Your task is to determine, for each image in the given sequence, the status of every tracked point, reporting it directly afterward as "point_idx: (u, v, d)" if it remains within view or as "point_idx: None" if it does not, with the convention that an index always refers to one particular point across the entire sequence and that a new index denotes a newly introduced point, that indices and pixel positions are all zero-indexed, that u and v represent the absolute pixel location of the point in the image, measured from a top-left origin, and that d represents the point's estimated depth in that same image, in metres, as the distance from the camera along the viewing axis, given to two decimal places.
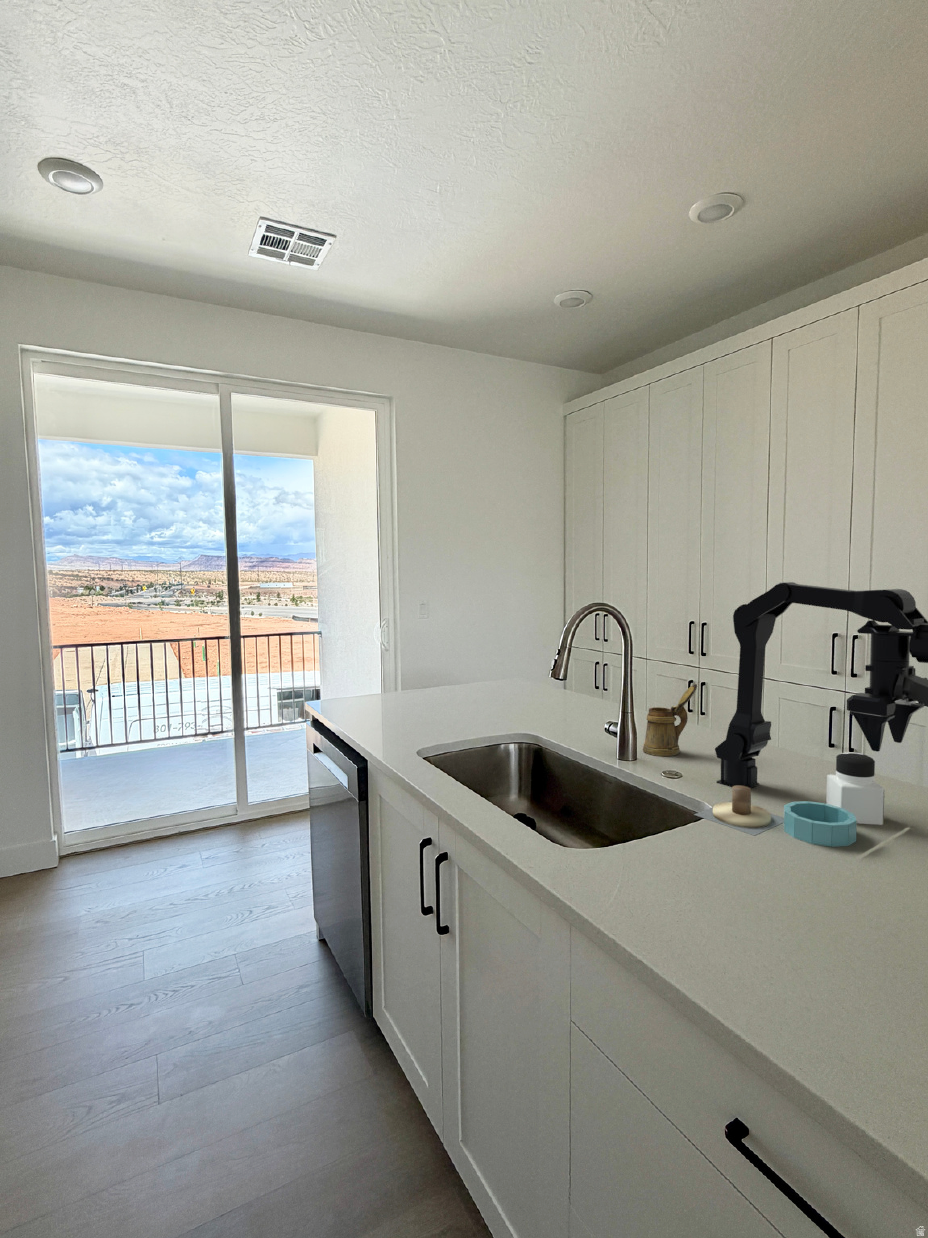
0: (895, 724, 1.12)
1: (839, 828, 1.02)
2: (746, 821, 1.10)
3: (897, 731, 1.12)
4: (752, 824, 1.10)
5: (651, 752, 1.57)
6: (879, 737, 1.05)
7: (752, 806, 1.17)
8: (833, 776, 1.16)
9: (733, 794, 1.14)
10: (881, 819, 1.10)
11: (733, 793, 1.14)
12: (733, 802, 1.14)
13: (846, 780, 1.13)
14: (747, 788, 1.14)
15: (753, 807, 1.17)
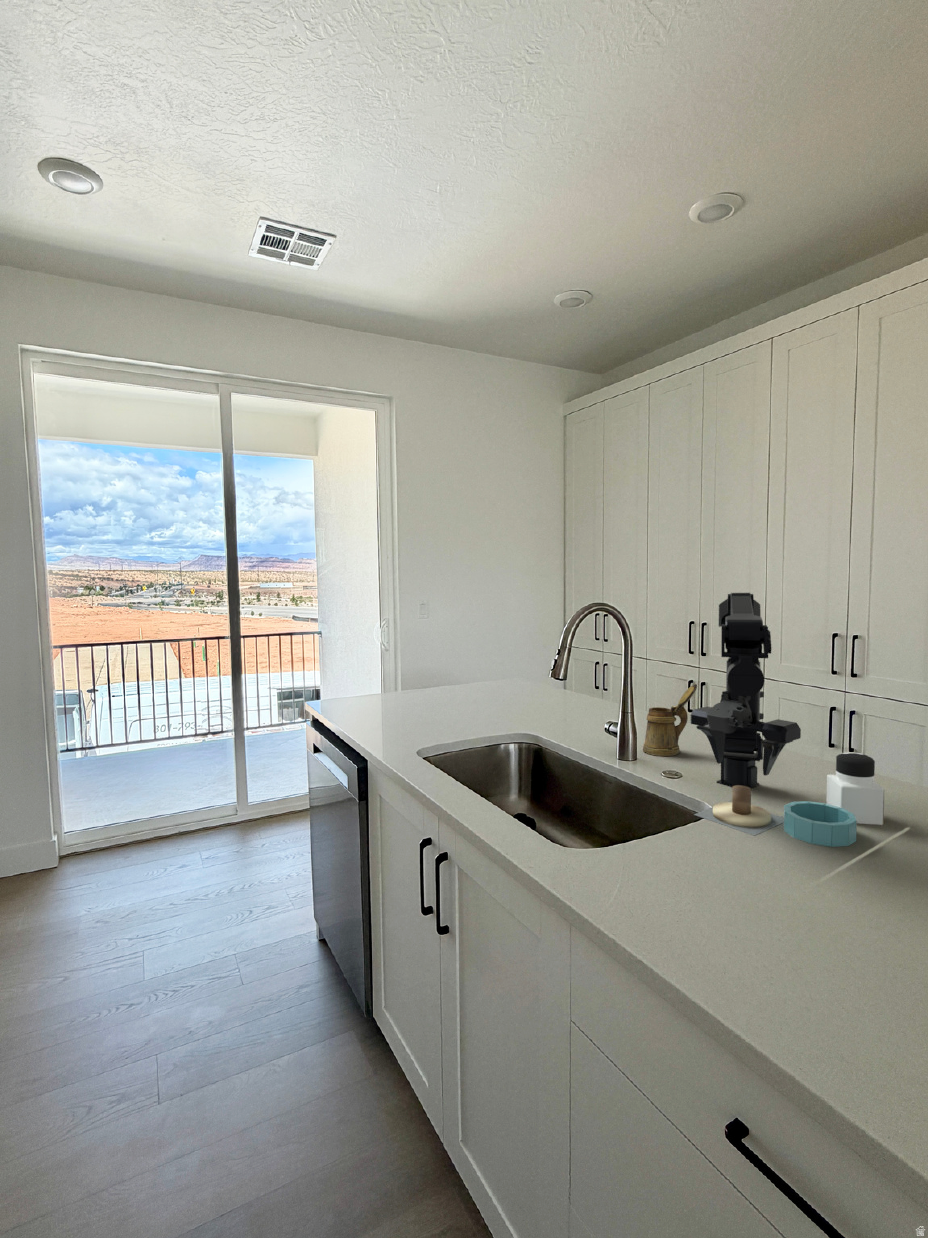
0: None
1: (839, 828, 1.02)
2: (746, 821, 1.10)
3: None
4: (752, 824, 1.10)
5: (651, 752, 1.57)
6: (713, 749, 1.18)
7: (752, 806, 1.17)
8: (833, 776, 1.16)
9: (733, 794, 1.14)
10: (881, 819, 1.10)
11: (733, 793, 1.14)
12: (733, 802, 1.14)
13: (846, 780, 1.13)
14: (747, 788, 1.14)
15: (753, 807, 1.17)
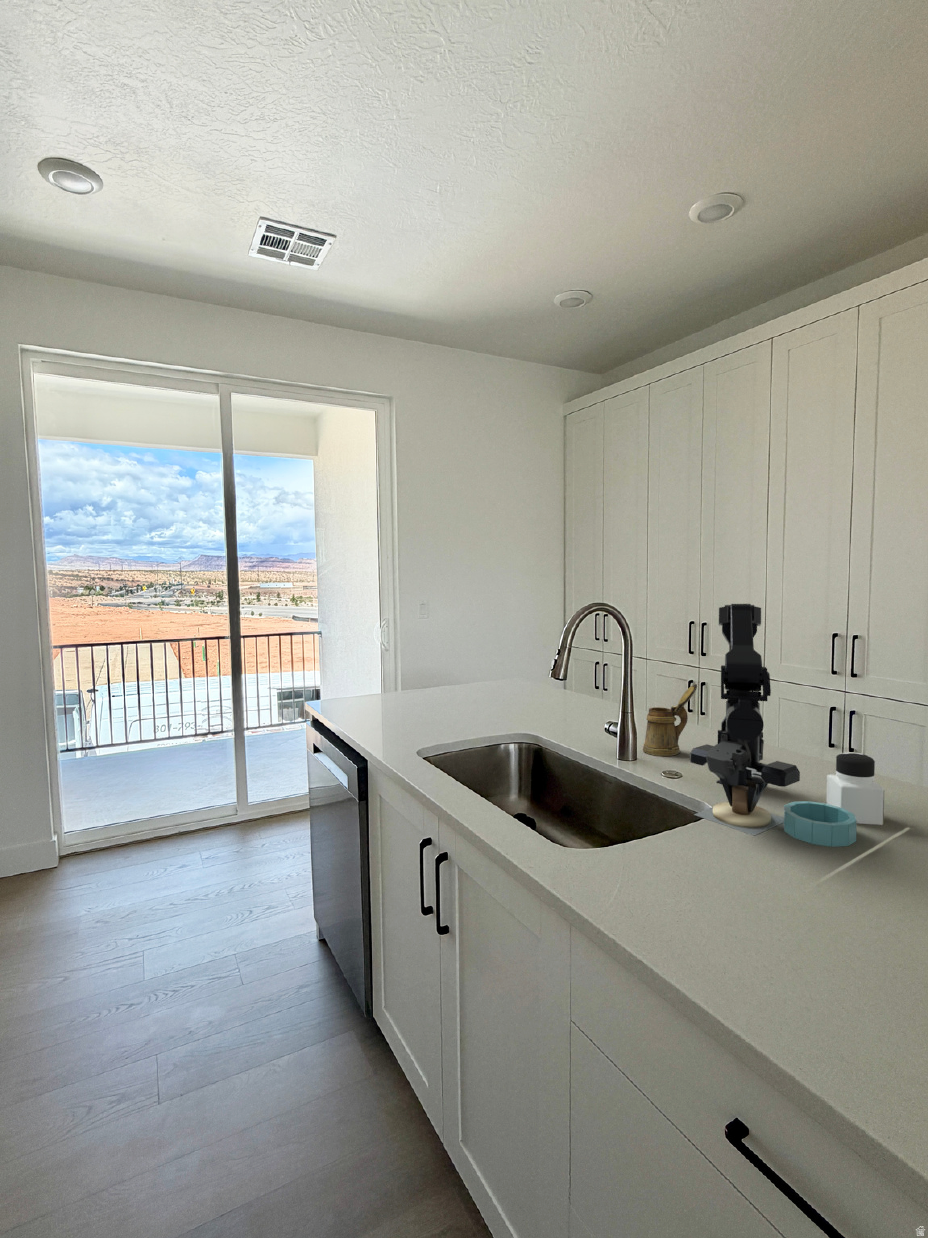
0: None
1: (839, 828, 1.02)
2: (747, 821, 1.10)
3: None
4: (752, 824, 1.10)
5: (651, 752, 1.57)
6: (726, 792, 1.16)
7: None
8: (833, 776, 1.16)
9: (733, 794, 1.14)
10: (881, 819, 1.10)
11: (733, 793, 1.14)
12: (733, 802, 1.14)
13: (846, 780, 1.13)
14: (747, 788, 1.14)
15: None
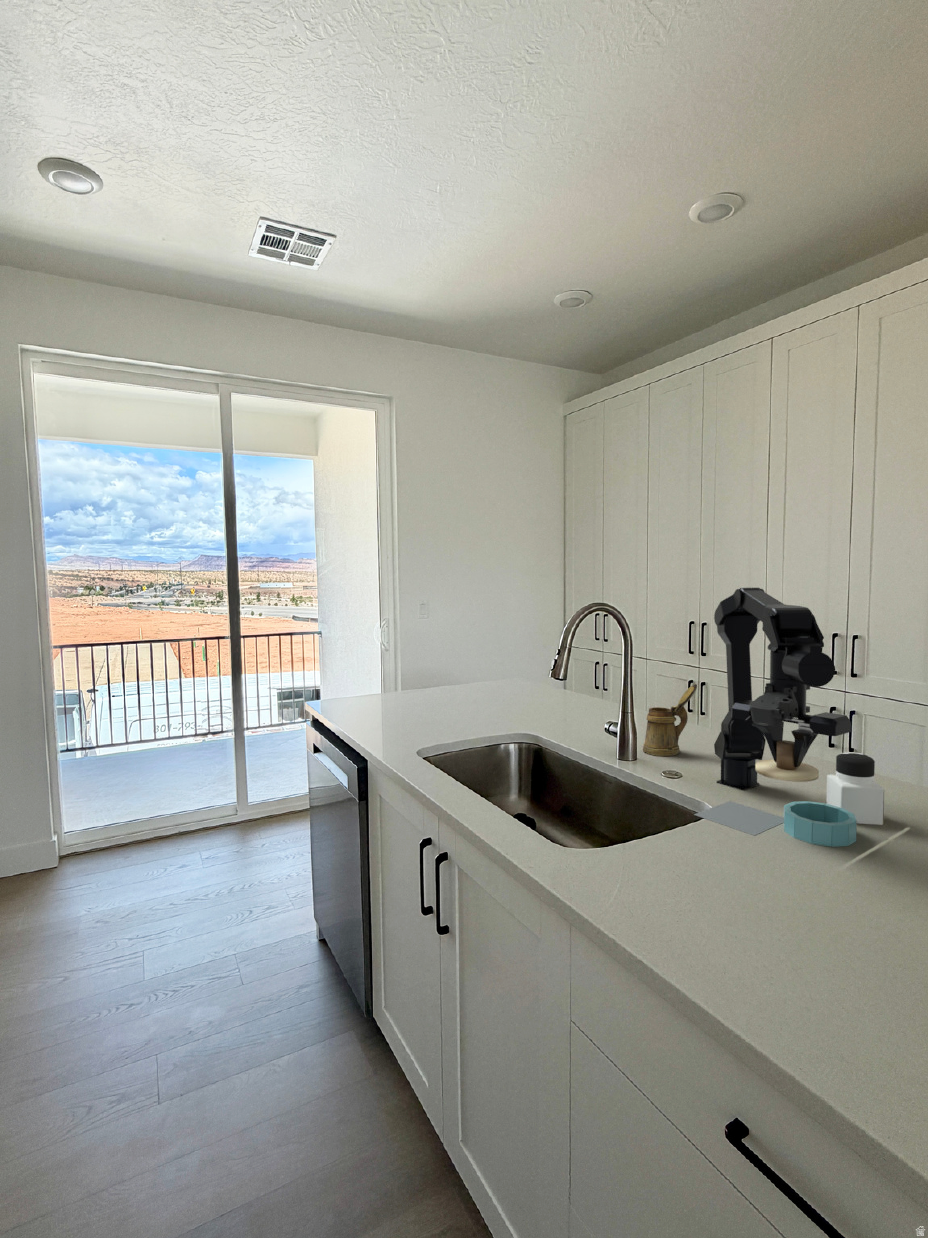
0: None
1: (839, 828, 1.02)
2: (793, 775, 1.05)
3: None
4: (799, 778, 1.04)
5: (651, 752, 1.57)
6: (770, 747, 1.11)
7: None
8: (833, 776, 1.16)
9: (778, 749, 1.09)
10: (881, 819, 1.10)
11: (778, 747, 1.09)
12: (778, 757, 1.09)
13: (846, 780, 1.13)
14: (793, 742, 1.09)
15: None
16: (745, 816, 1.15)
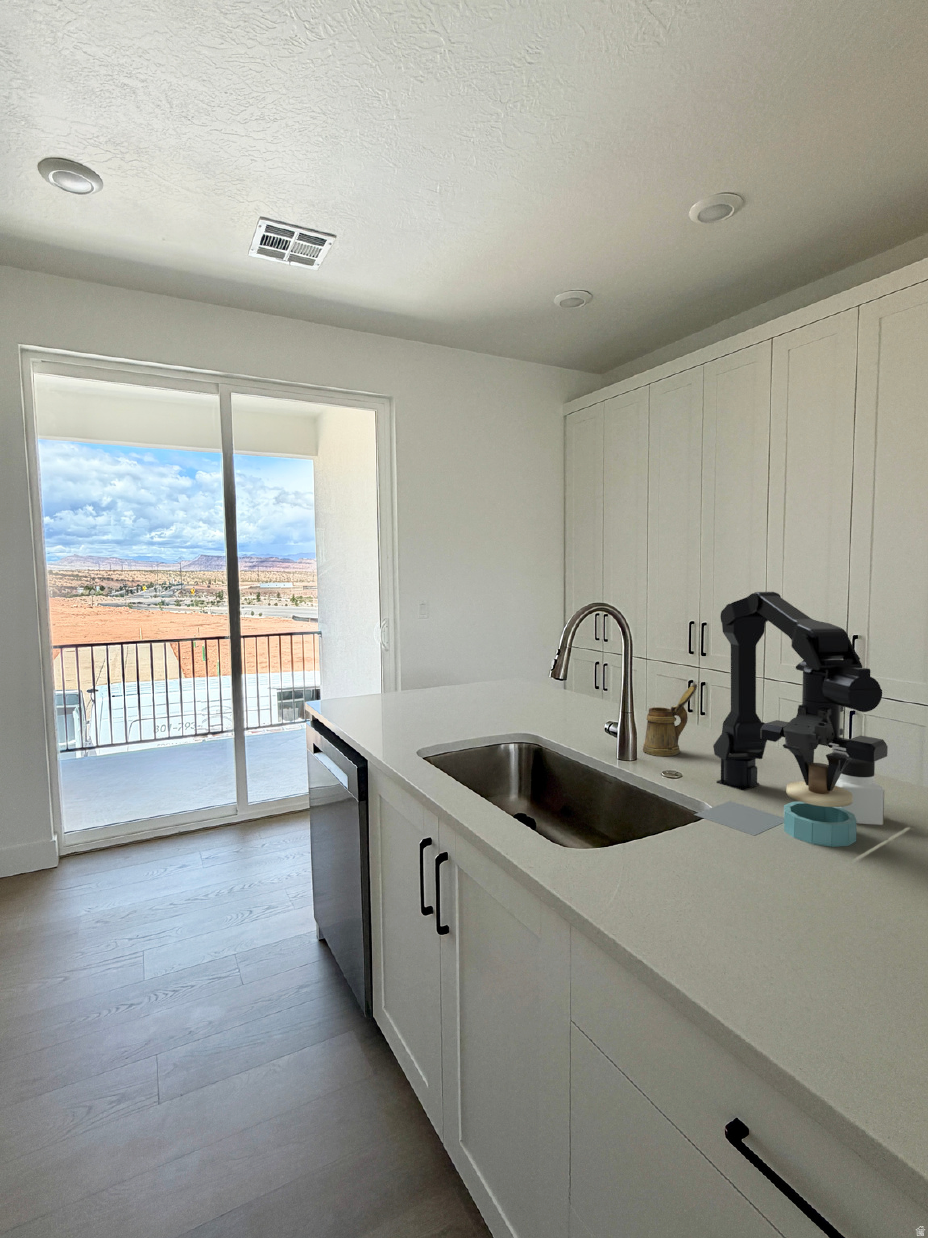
0: None
1: (839, 828, 1.02)
2: (828, 800, 1.02)
3: None
4: (834, 803, 1.02)
5: (651, 752, 1.57)
6: (801, 769, 1.08)
7: None
8: None
9: (810, 772, 1.06)
10: (881, 819, 1.10)
11: (810, 771, 1.06)
12: (810, 781, 1.06)
13: (846, 780, 1.13)
14: (825, 765, 1.06)
15: None
16: (745, 816, 1.15)
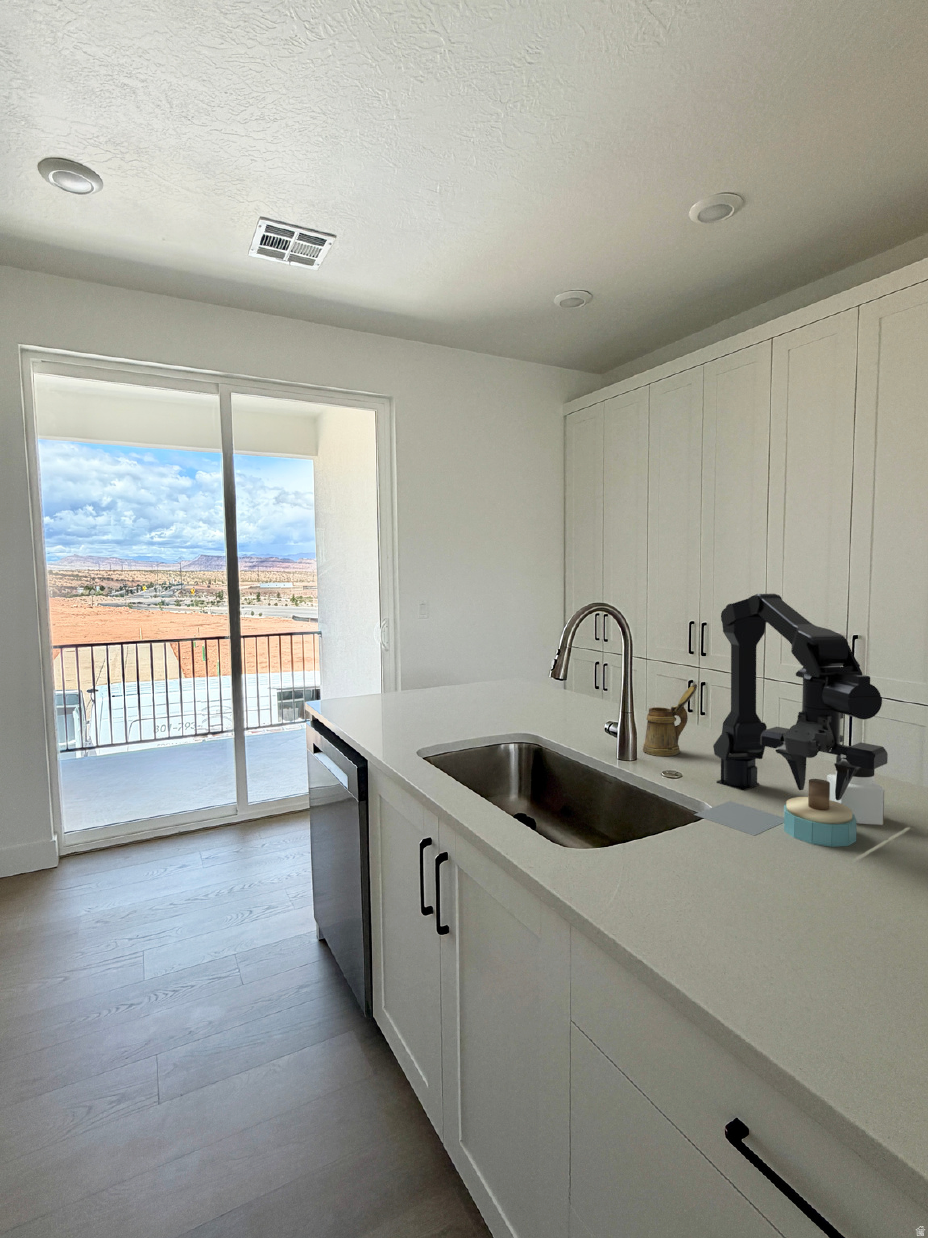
0: None
1: (839, 828, 1.02)
2: (828, 817, 1.02)
3: None
4: (834, 820, 1.02)
5: (651, 752, 1.57)
6: (794, 774, 1.09)
7: None
8: (833, 776, 1.16)
9: (810, 788, 1.06)
10: (881, 819, 1.10)
11: (810, 787, 1.06)
12: (810, 797, 1.07)
13: None
14: (825, 782, 1.06)
15: (830, 802, 1.09)
16: (745, 816, 1.15)
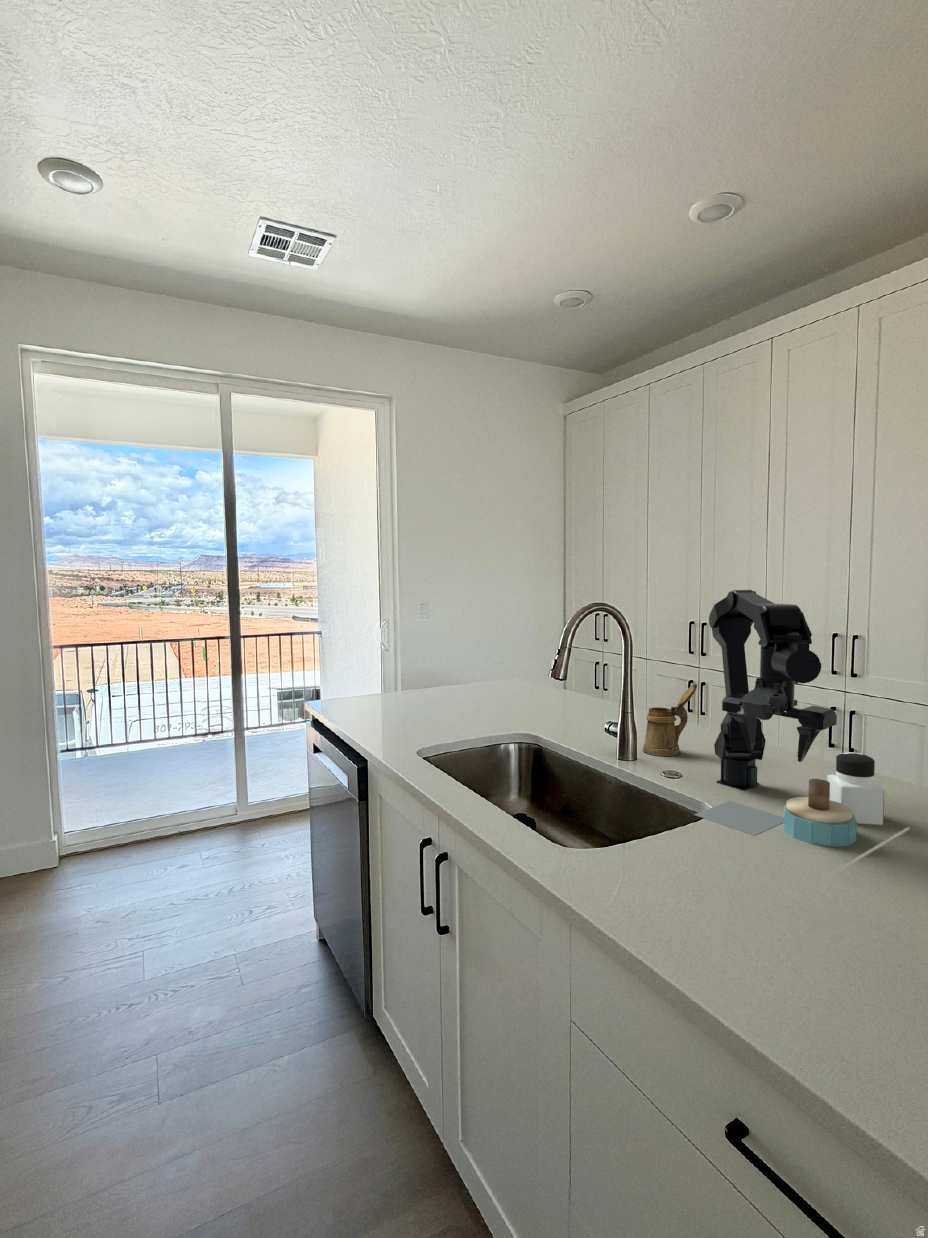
0: None
1: (839, 828, 1.02)
2: (828, 817, 1.02)
3: None
4: (834, 820, 1.02)
5: (651, 752, 1.57)
6: (745, 735, 1.18)
7: None
8: (833, 776, 1.16)
9: (810, 788, 1.06)
10: (881, 819, 1.10)
11: (810, 787, 1.06)
12: (810, 797, 1.07)
13: (846, 780, 1.13)
14: (825, 782, 1.06)
15: (830, 802, 1.09)
16: (745, 816, 1.15)
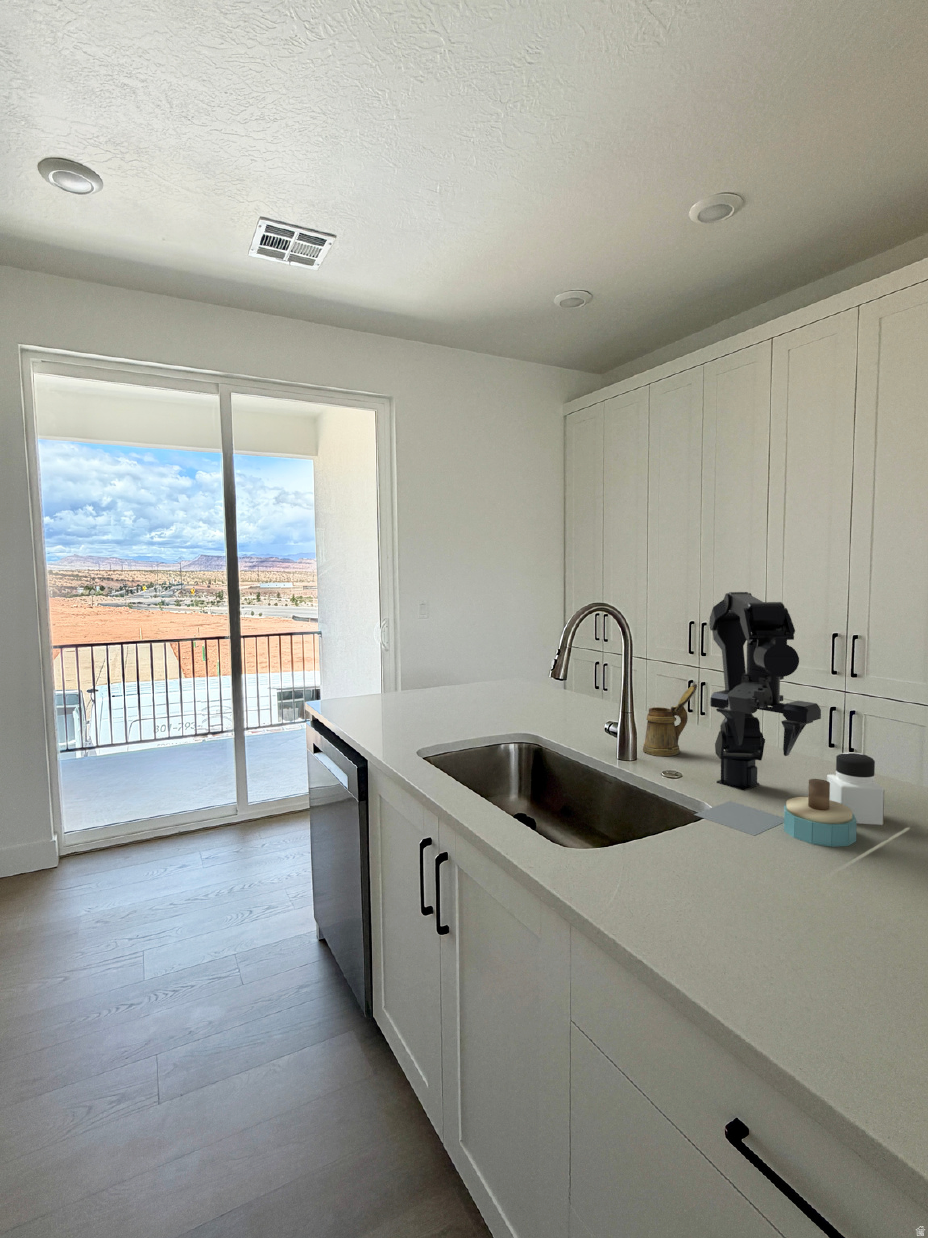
0: None
1: (839, 828, 1.02)
2: (828, 817, 1.02)
3: None
4: (834, 820, 1.02)
5: (651, 752, 1.57)
6: (733, 731, 1.20)
7: None
8: (833, 776, 1.16)
9: (810, 788, 1.06)
10: (881, 819, 1.10)
11: (810, 787, 1.06)
12: (810, 797, 1.07)
13: (846, 780, 1.13)
14: (825, 782, 1.06)
15: (830, 802, 1.09)
16: (745, 816, 1.15)
